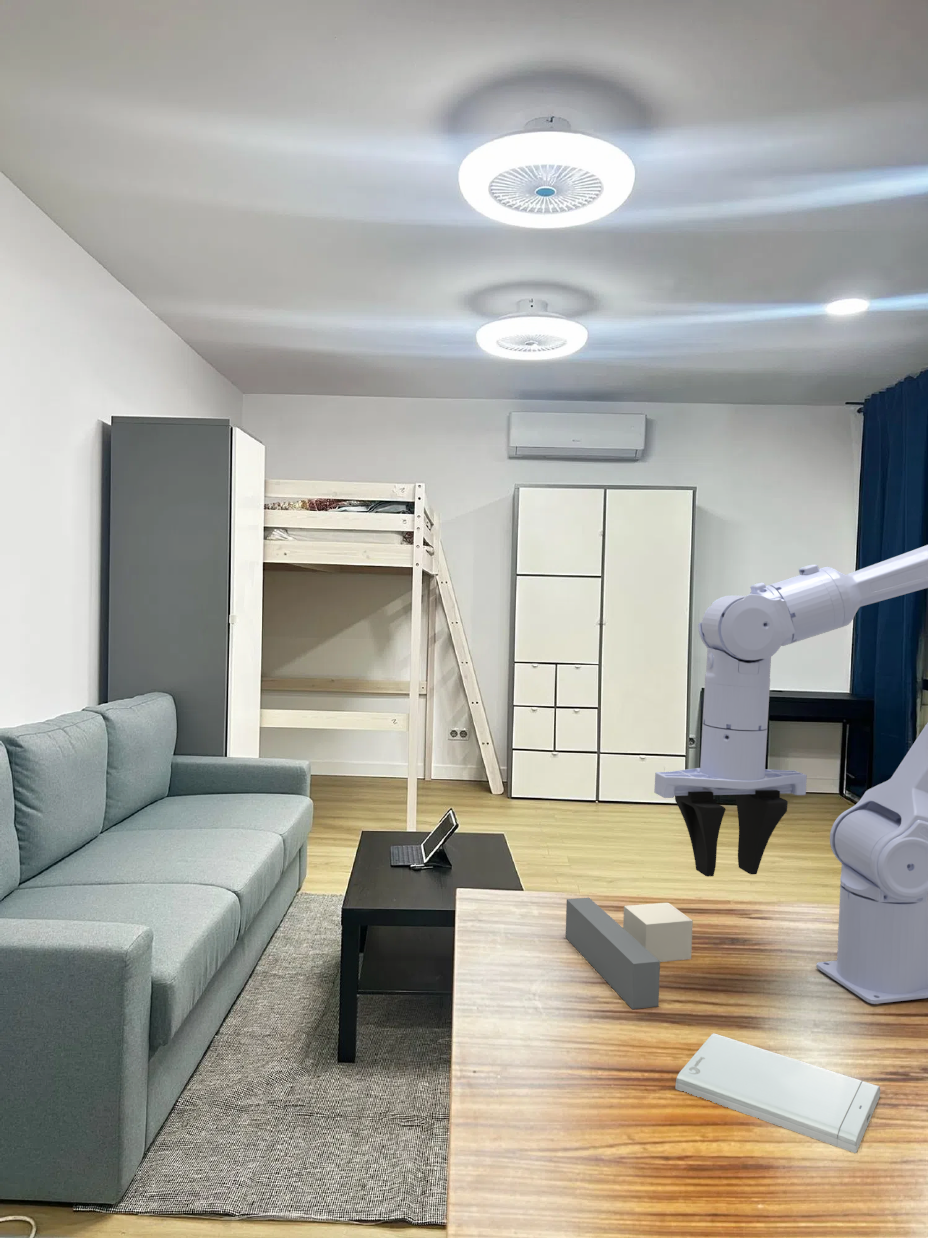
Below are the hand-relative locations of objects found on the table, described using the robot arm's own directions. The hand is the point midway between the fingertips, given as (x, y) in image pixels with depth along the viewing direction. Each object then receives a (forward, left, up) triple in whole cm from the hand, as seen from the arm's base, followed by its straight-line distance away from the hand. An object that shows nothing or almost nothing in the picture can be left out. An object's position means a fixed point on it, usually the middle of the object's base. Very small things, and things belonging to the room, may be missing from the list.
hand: (726, 872), depth 84 cm
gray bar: (+9, -5, -10) cm, 15 cm away
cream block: (+3, -8, -11) cm, 14 cm away
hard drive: (+6, +17, -11) cm, 21 cm away
